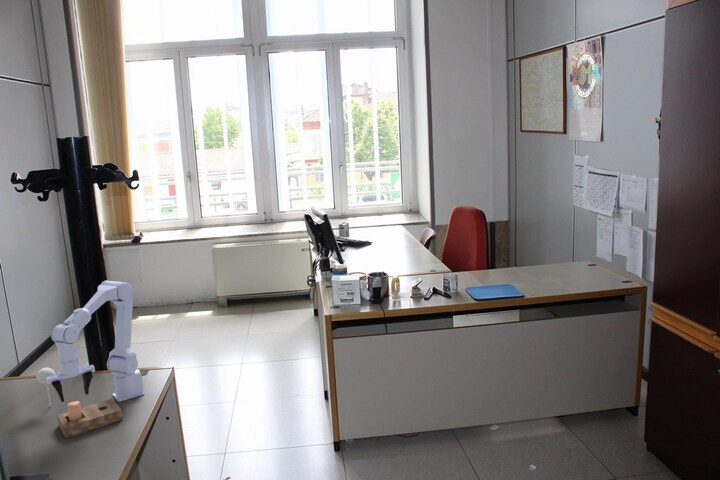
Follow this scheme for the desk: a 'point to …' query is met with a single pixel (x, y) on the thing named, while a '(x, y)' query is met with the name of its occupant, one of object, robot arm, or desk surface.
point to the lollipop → (43, 380)
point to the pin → (74, 411)
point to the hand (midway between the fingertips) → (74, 397)
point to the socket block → (90, 418)
